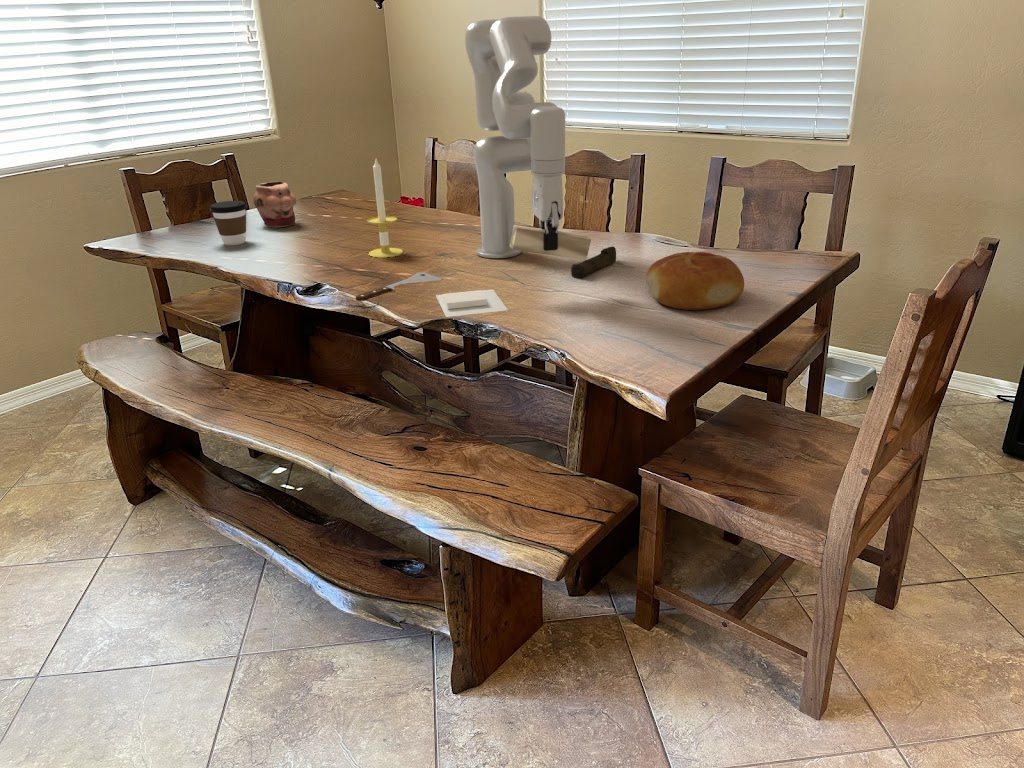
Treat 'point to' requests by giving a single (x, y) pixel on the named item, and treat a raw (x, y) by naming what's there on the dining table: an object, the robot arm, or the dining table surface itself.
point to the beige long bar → (534, 243)
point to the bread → (695, 281)
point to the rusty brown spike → (594, 263)
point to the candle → (382, 219)
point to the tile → (464, 299)
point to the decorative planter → (275, 204)
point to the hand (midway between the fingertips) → (548, 247)
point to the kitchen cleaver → (413, 279)
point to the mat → (492, 306)
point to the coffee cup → (230, 221)
